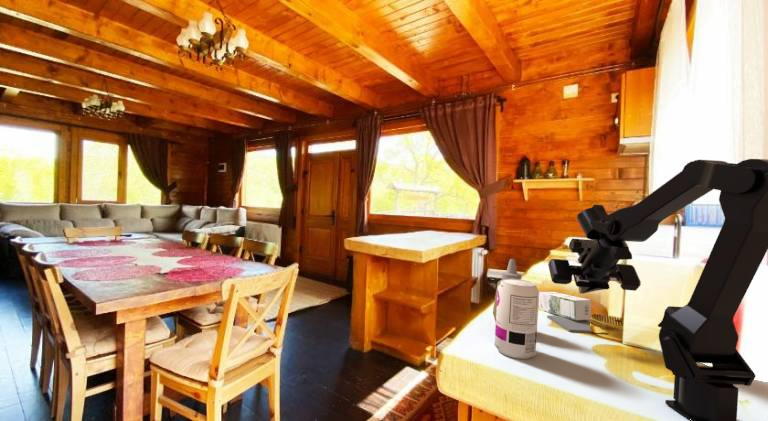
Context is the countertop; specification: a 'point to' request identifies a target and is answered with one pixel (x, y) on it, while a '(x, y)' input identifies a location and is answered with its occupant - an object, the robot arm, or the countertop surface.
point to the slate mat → (572, 324)
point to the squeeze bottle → (509, 274)
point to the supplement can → (516, 318)
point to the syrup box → (565, 305)
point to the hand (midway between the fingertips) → (580, 291)
